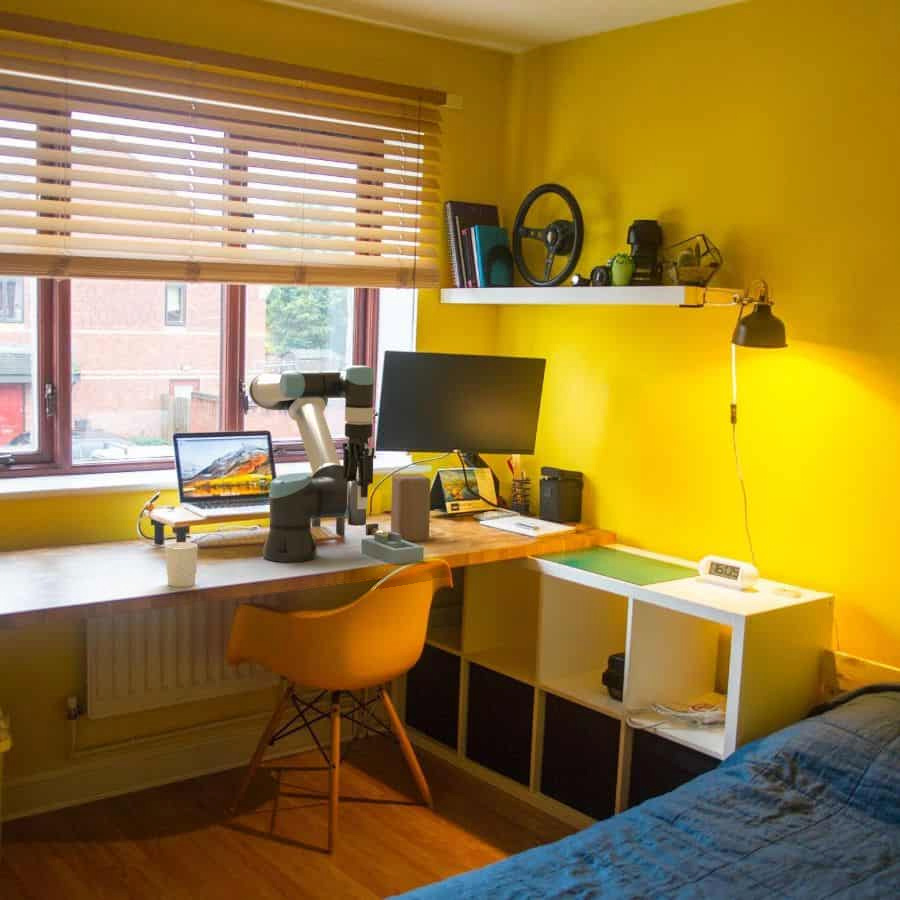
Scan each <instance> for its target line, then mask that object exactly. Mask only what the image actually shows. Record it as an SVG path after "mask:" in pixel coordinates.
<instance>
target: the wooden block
mask: <svg viewBox="0 0 900 900" xmlns="http://www.w3.org/2000/svg"><path fill="white" fill-rule="evenodd" d="M390 509H391V512H390V516H391V517H390V532H395V533H398V534H401V539H402V540H405V541H408V542H410V543H414V542H415V543H417V542H418V543H419V542H427V541H429V540H430V520H431V519H430V517H431V516H430V513H431V479H430V477H428V476H426V475H424V474H421V473H395V474H393V475H392V477H391V507H390Z"/></svg>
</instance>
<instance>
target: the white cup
mask: <svg viewBox="0 0 900 900" xmlns="http://www.w3.org/2000/svg"><path fill="white" fill-rule="evenodd" d="M165 561H166V575H167V585H168V586H170V587H175V588H176V587H177V588H184V587H191V586H194V585H195V584H196V577H197V576H196V575H197V565H198V564H197V563H198V544H197V543H196V542H195V543H194V542H185V541H180V542H170V543H167V544H165Z"/></svg>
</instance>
